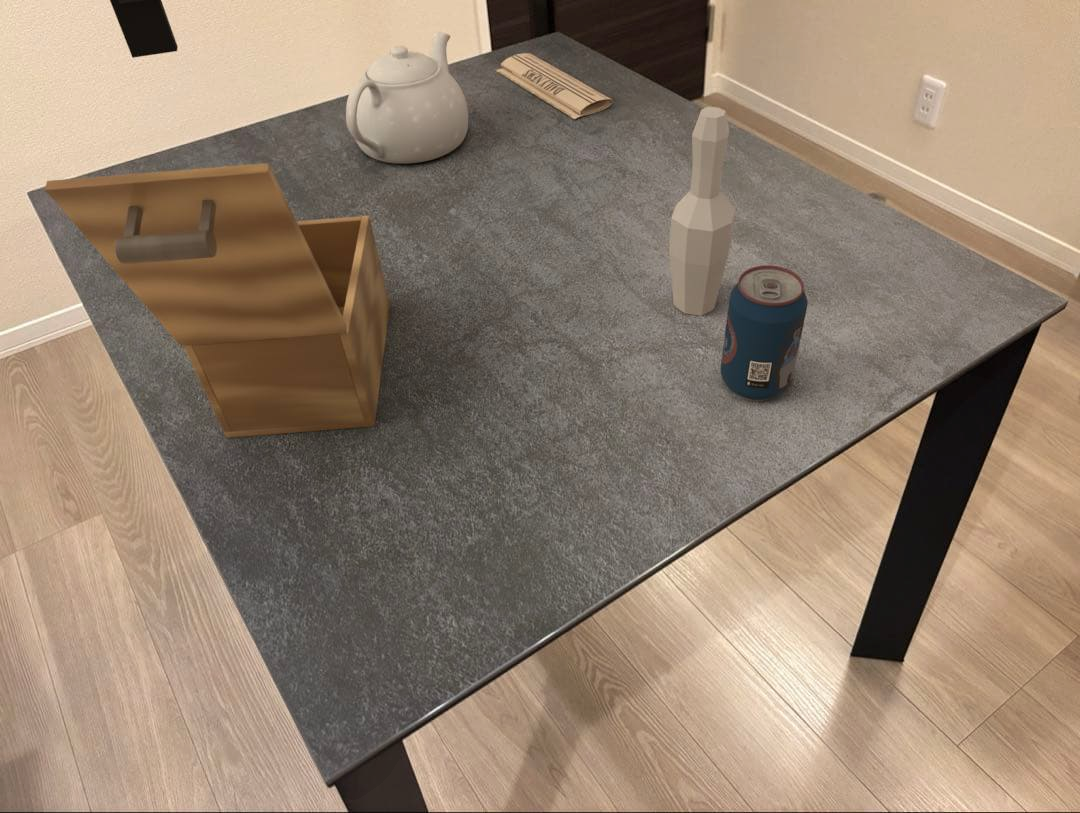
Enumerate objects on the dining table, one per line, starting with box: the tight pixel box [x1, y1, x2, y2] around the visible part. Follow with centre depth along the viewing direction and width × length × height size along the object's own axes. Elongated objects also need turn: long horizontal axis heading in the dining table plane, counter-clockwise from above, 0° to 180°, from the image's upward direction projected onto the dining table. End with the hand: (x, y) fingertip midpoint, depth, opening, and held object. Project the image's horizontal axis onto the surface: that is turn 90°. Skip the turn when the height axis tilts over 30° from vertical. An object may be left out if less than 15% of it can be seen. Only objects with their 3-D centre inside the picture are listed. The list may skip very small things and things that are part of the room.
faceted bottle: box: [668, 106, 736, 317], centre depth 84 cm, size 6×6×22 cm
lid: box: [44, 162, 347, 347], centre depth 62 cm, size 21×15×5 cm
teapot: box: [345, 31, 469, 165], centre depth 119 cm, size 19×18×14 cm
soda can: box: [720, 265, 809, 402], centre depth 78 cm, size 7×7×12 cm
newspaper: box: [495, 52, 613, 120], centre depth 133 cm, size 24×7×2 cm, turn 33°
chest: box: [183, 214, 391, 439], centre depth 84 cm, size 20×15×12 cm
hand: (163, 17), depth 57 cm, fingers open, 13 cm apart
